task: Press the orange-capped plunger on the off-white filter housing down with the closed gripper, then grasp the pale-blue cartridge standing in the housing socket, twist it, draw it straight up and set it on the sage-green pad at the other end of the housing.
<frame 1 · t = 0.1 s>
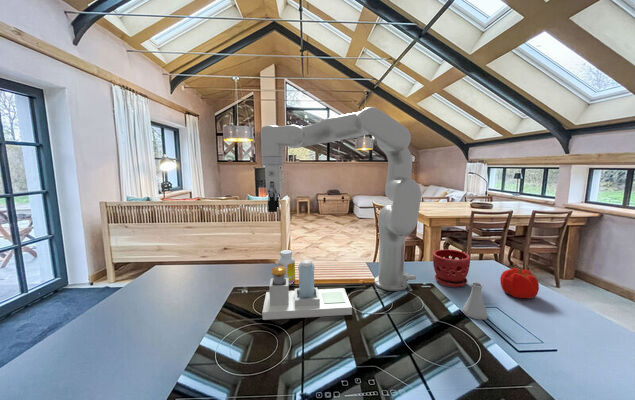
hand: (273, 209, 97), 31 cm above the kitchen island, fingers open, 9 cm apart
flask: (474, 314, 85), on the kitchen island
tomato: (517, 295, 97), on the kitchen island
plant pot: (449, 282, 107), on the kitchen island
housing: (306, 306, 90), on the kitchen island
supplement bottle: (286, 282, 108), on the kitchen island
cartridge: (306, 299, 90), point 2 cm above the kitchen island, touching housing
plunger: (279, 281, 88), point 9 cm above the kitchen island, slide at 0.0 cm
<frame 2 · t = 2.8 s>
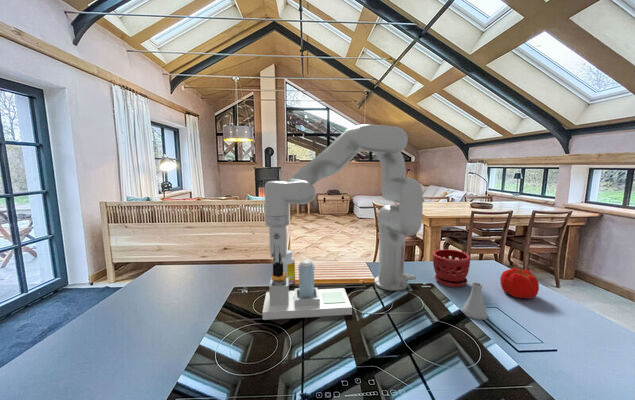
hand: (278, 274, 87), 12 cm above the kitchen island, fingers closed
plunger: (279, 286, 88), point 7 cm above the kitchen island, slide at 1.9 cm, touching gripper
everything else where it was.
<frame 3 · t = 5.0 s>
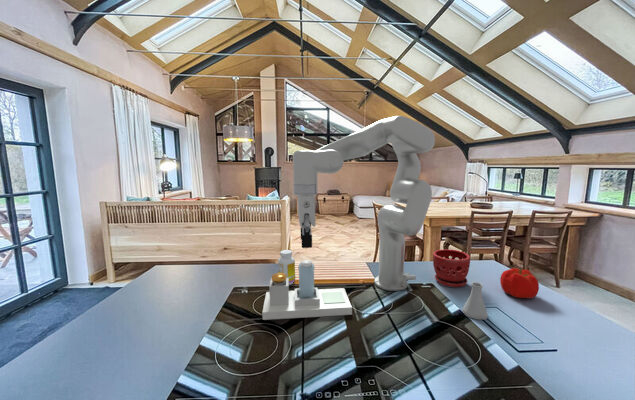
hand: (306, 243, 87), 22 cm above the kitchen island, fingers open, 8 cm apart
plunger: (279, 287, 88), point 7 cm above the kitchen island, slide at 2.3 cm
everything else where it was.
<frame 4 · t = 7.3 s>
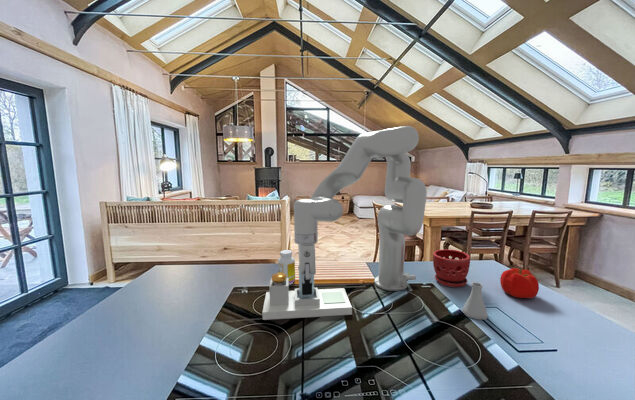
hand: (306, 289, 89), 6 cm above the kitchen island, fingers closed on cartridge, 5 cm apart
cartridge: (306, 299, 90), point 2 cm above the kitchen island, touching gripper, housing
everything else where it was.
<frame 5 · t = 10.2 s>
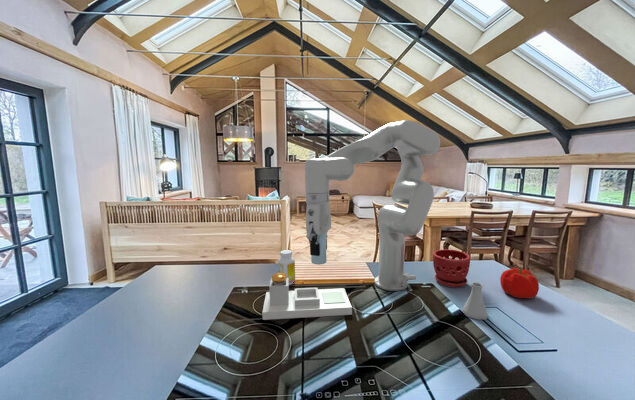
hand: (318, 251, 88), 19 cm above the kitchen island, fingers closed on cartridge, 5 cm apart
cartridge: (319, 261, 88), point 15 cm above the kitchen island, touching gripper
everything else where it was.
when the fingers open (7 cm above the kitchen island, at t = 13.2 s): cartridge drops 1 cm, resting on housing.
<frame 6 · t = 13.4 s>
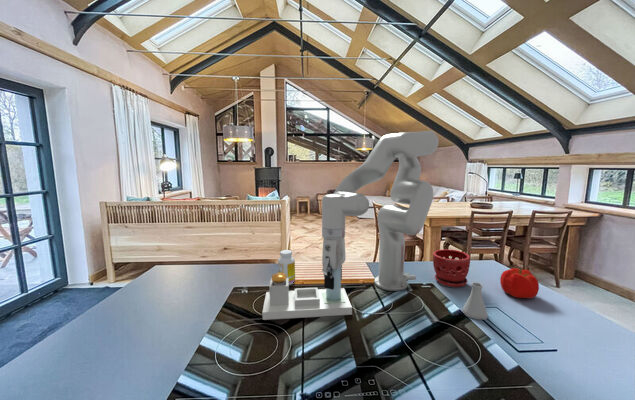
hand: (333, 283, 90), 8 cm above the kitchen island, fingers open, 6 cm apart
cartridge: (333, 297, 90), point 3 cm above the kitchen island, touching housing
everything else where it was.
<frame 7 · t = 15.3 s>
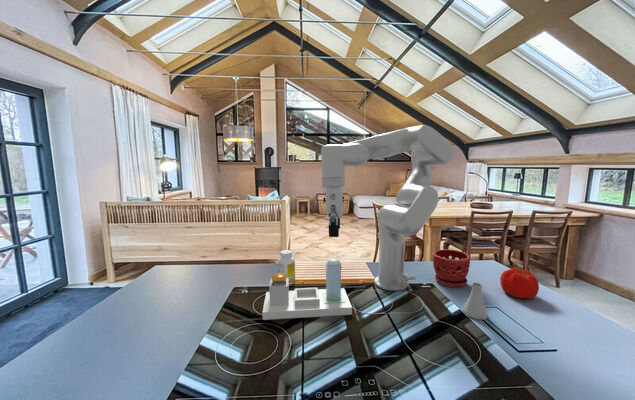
hand: (334, 232, 91), 24 cm above the kitchen island, fingers open, 9 cm apart
nothing on the kitchen island moved.
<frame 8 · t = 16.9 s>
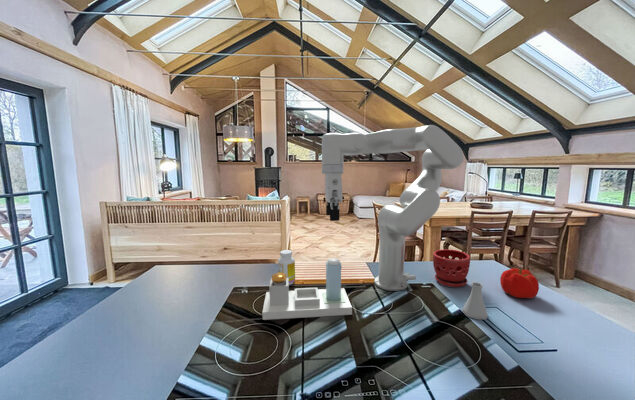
hand: (332, 217, 96), 28 cm above the kitchen island, fingers open, 9 cm apart
nothing on the kitchen island moved.
at the end: plunger slide at 2.3 cm; cartridge inside the target area (0.1 cm from its centre), point 2.7 cm above the kitchen island; cartridge tilted 0° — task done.
